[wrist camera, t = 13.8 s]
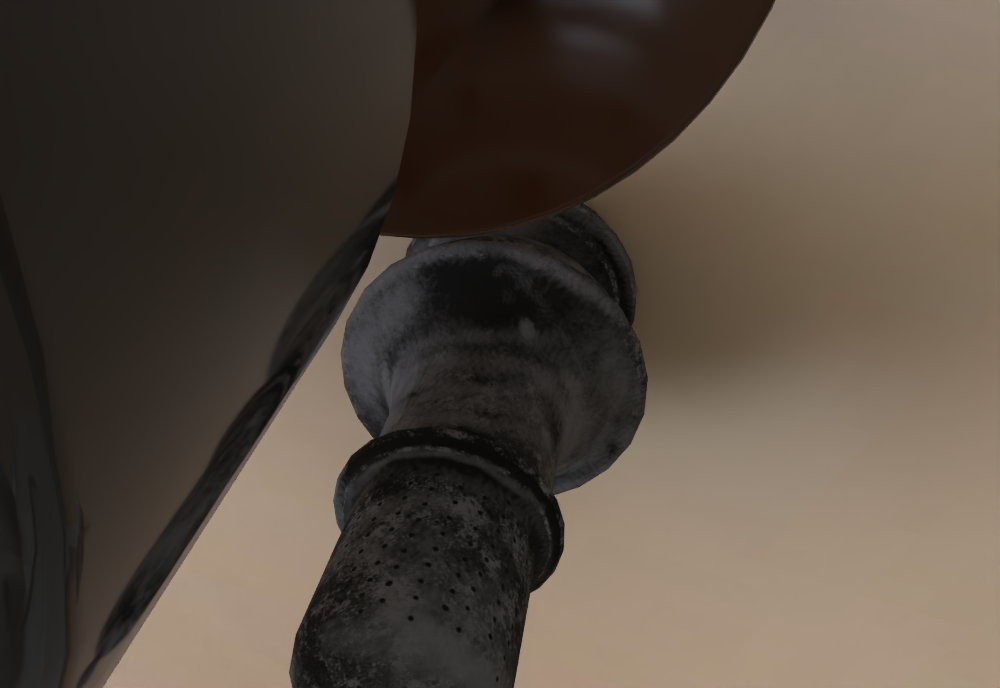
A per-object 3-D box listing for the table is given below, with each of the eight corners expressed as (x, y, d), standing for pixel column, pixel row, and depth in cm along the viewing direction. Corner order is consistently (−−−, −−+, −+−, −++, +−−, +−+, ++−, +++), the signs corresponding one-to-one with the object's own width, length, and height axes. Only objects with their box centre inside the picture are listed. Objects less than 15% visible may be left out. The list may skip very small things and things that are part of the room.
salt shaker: (494, 437, 22) (345, 988, 12) (338, 260, 20) (-7, 738, 10) (702, 329, 19) (741, 916, 9) (546, 113, 17) (372, 556, 7)
